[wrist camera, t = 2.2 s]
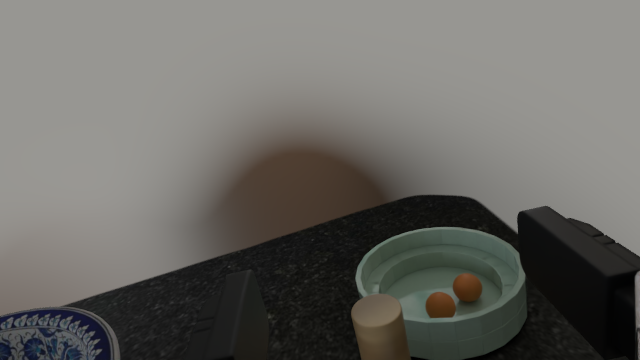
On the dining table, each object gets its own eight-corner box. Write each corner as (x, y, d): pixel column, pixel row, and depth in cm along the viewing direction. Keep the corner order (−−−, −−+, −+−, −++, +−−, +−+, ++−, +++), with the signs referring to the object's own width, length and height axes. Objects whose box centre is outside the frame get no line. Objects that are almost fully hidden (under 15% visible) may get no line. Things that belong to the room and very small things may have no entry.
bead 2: (489, 297, 44) (487, 274, 43) (471, 312, 43) (468, 288, 42) (466, 286, 47) (463, 264, 46) (448, 300, 45) (445, 277, 44)
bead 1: (463, 318, 42) (460, 293, 41) (443, 333, 41) (440, 308, 40) (440, 305, 45) (437, 282, 44) (421, 319, 44) (417, 296, 43)
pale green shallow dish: (563, 299, 43) (562, 257, 41) (450, 399, 35) (443, 352, 33) (435, 247, 57) (430, 214, 55) (334, 309, 49) (325, 274, 47)
